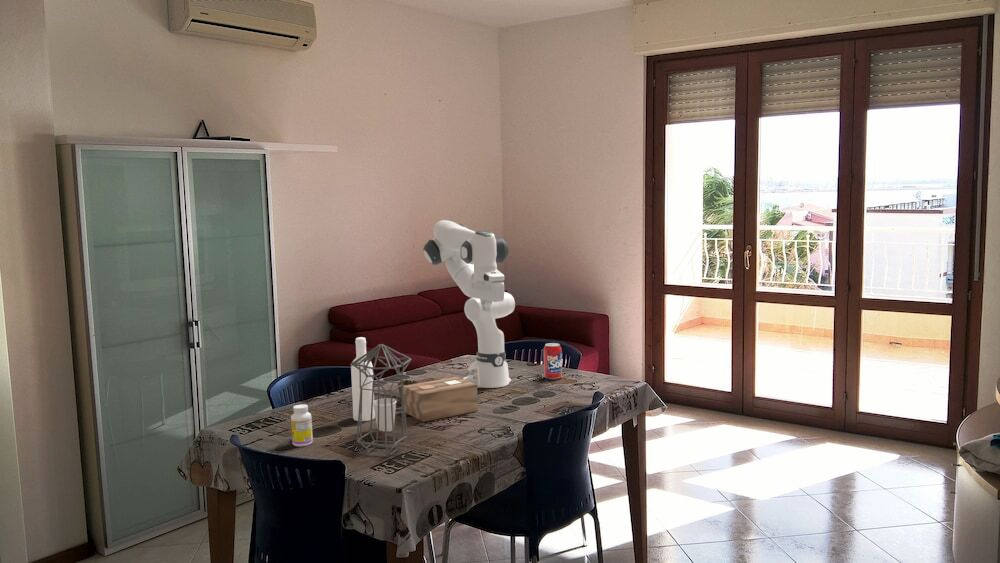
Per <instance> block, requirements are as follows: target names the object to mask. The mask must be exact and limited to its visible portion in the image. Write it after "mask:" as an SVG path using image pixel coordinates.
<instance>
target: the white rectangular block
mask: <svg viewBox="0 0 1000 563" xmlns="http://www.w3.org/2000/svg"><path fill="white" fill-rule="evenodd" d="M444 384H447V385H449V386H451V385H457V384H462V383H461V382H459V381H456V380H453V381H447V382H444Z"/></svg>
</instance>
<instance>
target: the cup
mask: <svg viewBox="0 0 1000 563" xmlns="http://www.w3.org/2000/svg"><path fill="white" fill-rule="evenodd" d="M417 383H418V382H417V380H412V381H411V380H410V379H405V380H403V386H405V385H411V384H417ZM400 385H401V383H397V387H398V386H400ZM397 389H398V392H399V396H400V397H401V386H400V387H398V388H397Z"/></svg>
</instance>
